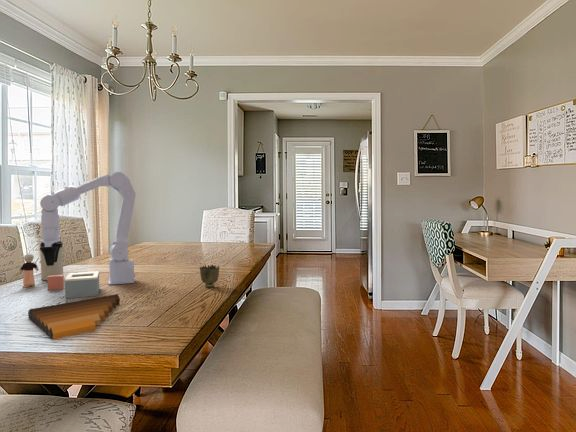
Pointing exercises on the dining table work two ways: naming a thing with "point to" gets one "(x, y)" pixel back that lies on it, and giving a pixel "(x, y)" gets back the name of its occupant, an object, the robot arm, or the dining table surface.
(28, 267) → the grandmother figurine
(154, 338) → the dining table surface
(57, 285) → the pink rectangular block
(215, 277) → the cup
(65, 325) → the pan flute
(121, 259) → the robot arm
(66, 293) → the coin box
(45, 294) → the dining table surface
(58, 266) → the travel mug
